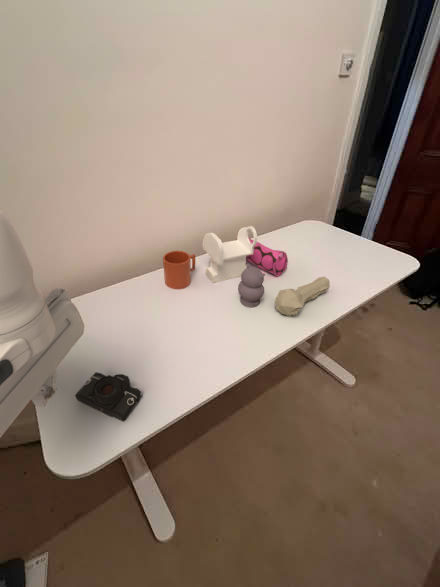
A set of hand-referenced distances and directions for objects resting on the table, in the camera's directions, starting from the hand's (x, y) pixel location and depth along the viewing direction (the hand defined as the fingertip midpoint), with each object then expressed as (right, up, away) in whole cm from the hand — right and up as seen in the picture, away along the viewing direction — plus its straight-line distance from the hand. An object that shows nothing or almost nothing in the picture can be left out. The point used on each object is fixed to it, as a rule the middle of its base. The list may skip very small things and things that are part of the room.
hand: (46, 397), depth 45 cm
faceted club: (+53, +12, +52) cm, 75 cm away
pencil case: (+40, +26, +70) cm, 84 cm away
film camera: (+2, -8, +22) cm, 23 cm away
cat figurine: (+35, +13, +52) cm, 64 cm away
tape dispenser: (+28, +22, +63) cm, 72 cm away
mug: (+12, +20, +59) cm, 64 cm away
